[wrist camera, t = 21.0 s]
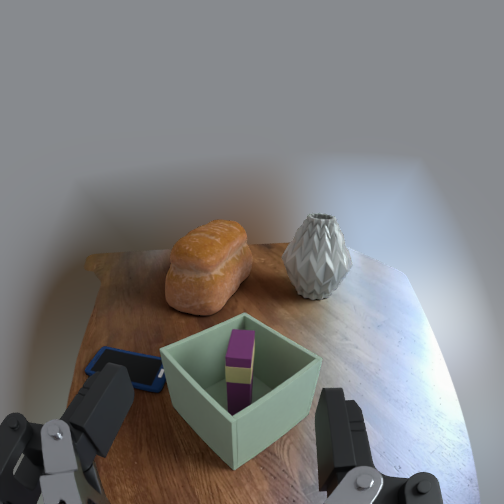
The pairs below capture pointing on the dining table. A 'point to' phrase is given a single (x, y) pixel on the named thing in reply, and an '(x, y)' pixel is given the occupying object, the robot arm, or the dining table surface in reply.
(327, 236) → the vase
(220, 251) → the bread
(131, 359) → the cell phone
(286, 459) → the dining table surface
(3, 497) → the robot arm
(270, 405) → the open storage box
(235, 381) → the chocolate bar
